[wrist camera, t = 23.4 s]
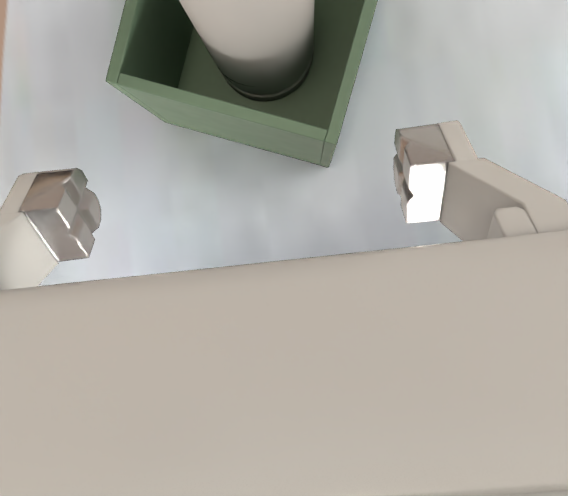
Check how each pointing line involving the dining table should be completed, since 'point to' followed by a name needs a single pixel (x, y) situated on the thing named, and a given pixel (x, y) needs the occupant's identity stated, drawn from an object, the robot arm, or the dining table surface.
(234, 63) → the travel mug
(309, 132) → the waste bin
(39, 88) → the dining table surface
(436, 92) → the dining table surface
